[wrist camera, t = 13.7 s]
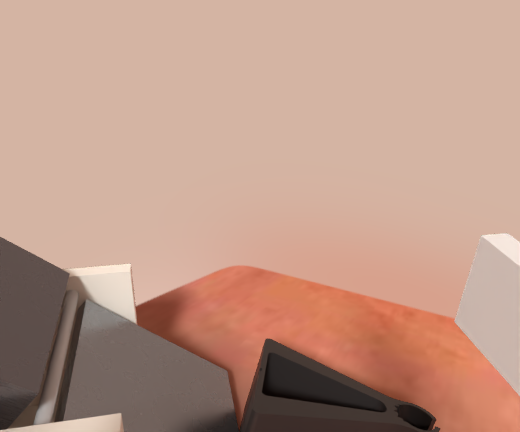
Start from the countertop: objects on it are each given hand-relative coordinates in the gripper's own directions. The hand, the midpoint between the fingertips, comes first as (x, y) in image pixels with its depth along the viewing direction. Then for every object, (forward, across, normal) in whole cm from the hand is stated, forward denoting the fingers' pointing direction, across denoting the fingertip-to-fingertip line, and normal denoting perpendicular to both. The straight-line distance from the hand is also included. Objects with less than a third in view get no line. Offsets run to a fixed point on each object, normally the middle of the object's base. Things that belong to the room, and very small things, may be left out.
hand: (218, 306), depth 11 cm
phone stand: (+13, +4, -19) cm, 23 cm away
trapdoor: (+14, -6, -17) cm, 23 cm away
